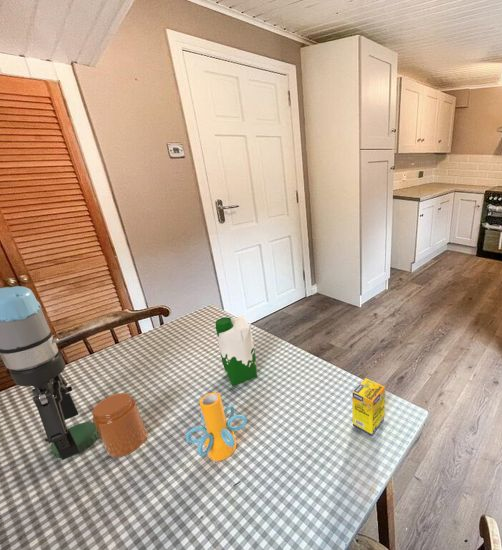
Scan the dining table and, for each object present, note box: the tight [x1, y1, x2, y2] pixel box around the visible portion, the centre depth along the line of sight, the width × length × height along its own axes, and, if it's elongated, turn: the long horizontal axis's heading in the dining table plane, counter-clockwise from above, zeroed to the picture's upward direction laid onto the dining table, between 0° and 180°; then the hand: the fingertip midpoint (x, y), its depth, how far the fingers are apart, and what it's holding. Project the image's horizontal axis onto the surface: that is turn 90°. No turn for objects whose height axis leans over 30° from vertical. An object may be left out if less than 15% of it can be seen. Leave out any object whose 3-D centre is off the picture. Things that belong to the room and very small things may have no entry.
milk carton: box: [214, 315, 258, 387], centre depth 89 cm, size 9×9×20 cm
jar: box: [91, 392, 148, 458], centre depth 69 cm, size 8×8×12 cm
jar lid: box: [49, 421, 100, 459], centre depth 71 cm, size 8×8×2 cm
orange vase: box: [185, 392, 248, 462], centre depth 67 cm, size 12×10×15 cm
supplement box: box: [351, 378, 386, 437], centre depth 74 cm, size 6×6×11 cm
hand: (71, 434), depth 70 cm, fingers open, 13 cm apart
